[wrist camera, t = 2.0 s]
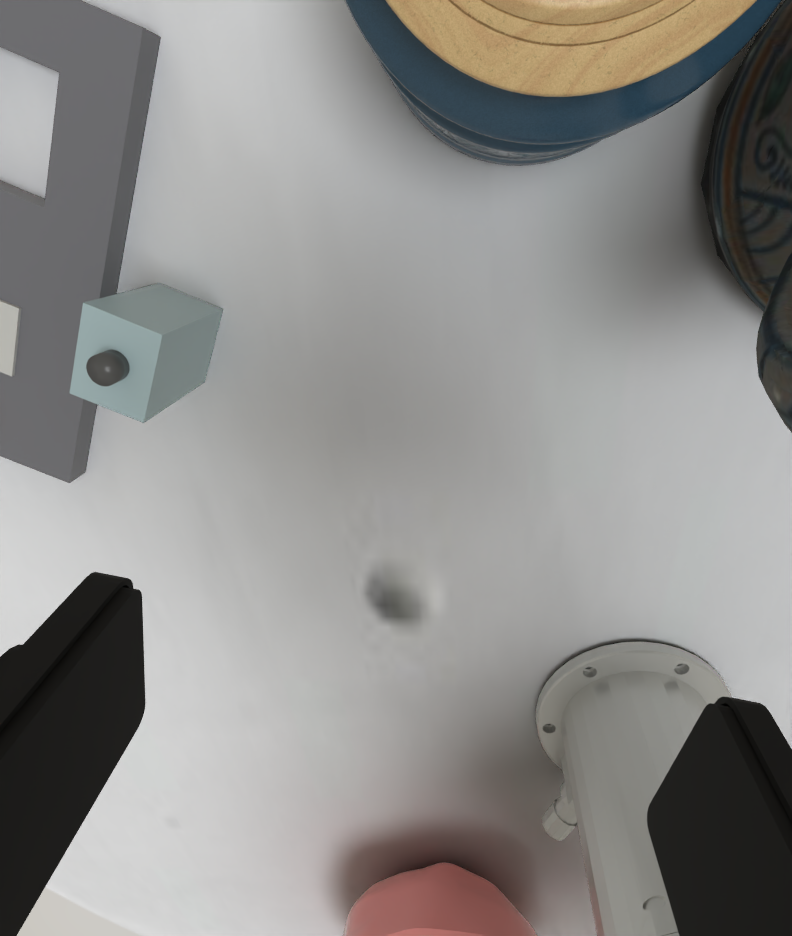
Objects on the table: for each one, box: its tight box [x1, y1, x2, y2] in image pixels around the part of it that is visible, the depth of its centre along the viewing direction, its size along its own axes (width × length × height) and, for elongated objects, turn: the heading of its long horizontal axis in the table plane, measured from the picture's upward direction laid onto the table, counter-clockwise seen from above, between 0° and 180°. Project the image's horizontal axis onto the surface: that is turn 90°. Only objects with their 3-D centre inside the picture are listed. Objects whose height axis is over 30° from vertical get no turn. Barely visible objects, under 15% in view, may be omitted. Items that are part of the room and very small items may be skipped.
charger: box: [70, 283, 223, 423], centre depth 29 cm, size 4×4×8 cm
